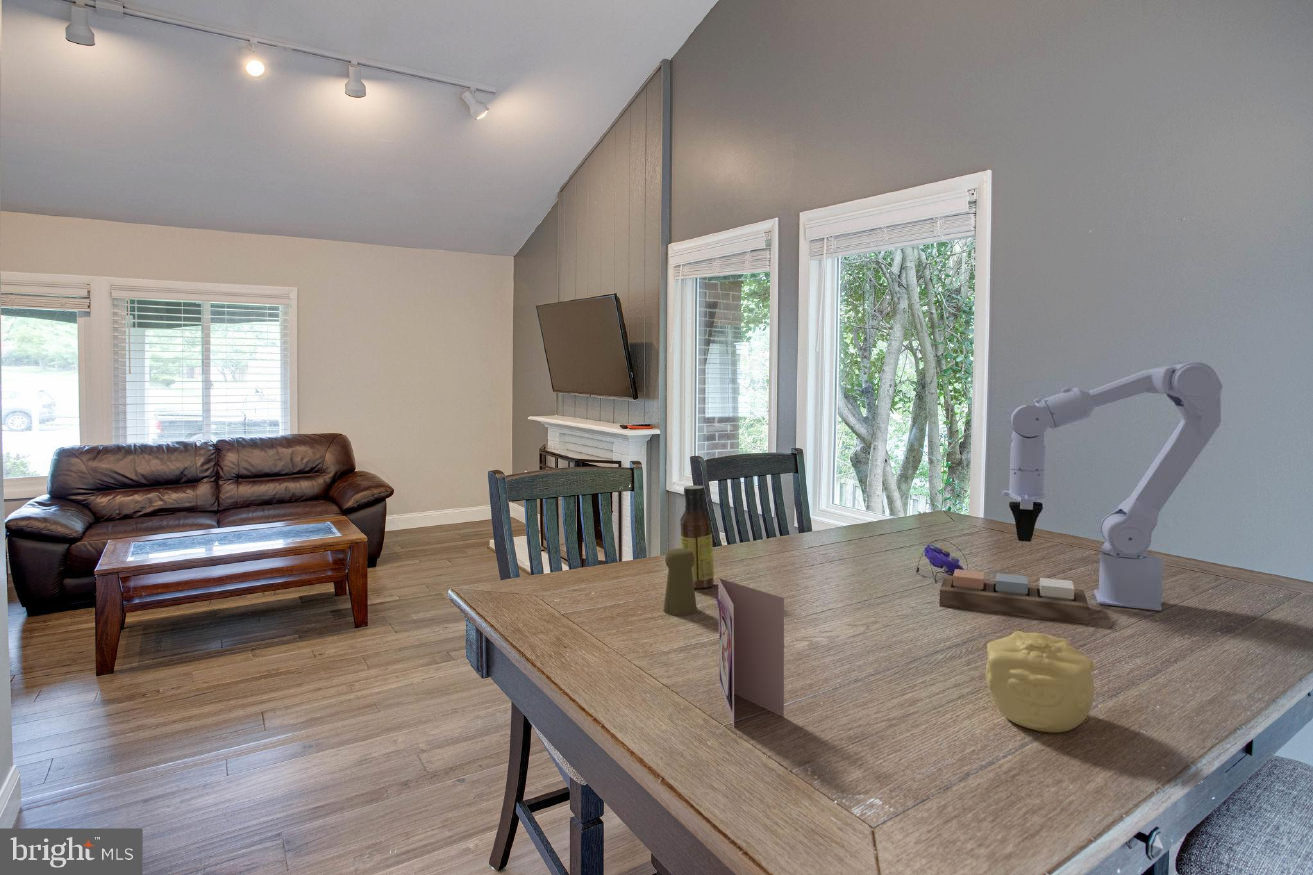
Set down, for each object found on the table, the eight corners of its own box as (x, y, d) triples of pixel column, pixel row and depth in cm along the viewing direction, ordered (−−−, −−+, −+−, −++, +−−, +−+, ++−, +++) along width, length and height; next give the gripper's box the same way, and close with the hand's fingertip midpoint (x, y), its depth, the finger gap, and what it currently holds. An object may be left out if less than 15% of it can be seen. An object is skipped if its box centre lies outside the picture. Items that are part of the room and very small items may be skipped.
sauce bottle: (714, 581, 147) (713, 484, 145) (713, 590, 141) (713, 489, 139) (682, 580, 147) (681, 484, 146) (680, 589, 141) (678, 489, 139)
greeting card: (712, 686, 98) (712, 578, 96) (767, 684, 98) (767, 576, 97) (726, 727, 86) (726, 605, 85) (788, 725, 87) (788, 603, 86)
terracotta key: (983, 590, 133) (984, 572, 133) (982, 597, 129) (983, 579, 128) (954, 586, 135) (955, 569, 135) (952, 594, 131) (953, 575, 131)
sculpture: (977, 727, 86) (979, 639, 85) (994, 690, 96) (996, 610, 95) (1089, 754, 80) (1093, 659, 79) (1095, 711, 89) (1099, 626, 88)
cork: (694, 616, 126) (694, 554, 125) (660, 614, 127) (659, 553, 126) (699, 605, 132) (699, 546, 131) (666, 603, 133) (666, 544, 132)
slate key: (1026, 594, 130) (1027, 576, 130) (1027, 602, 126) (1027, 583, 125) (995, 591, 132) (996, 573, 132) (995, 599, 128) (995, 580, 128)
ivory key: (1071, 599, 127) (1072, 580, 127) (1073, 608, 123) (1074, 588, 122) (1039, 596, 129) (1039, 577, 129) (1040, 604, 125) (1040, 585, 125)
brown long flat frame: (1082, 606, 129) (1083, 589, 128) (1088, 624, 120) (1088, 606, 119) (944, 590, 139) (944, 575, 138) (939, 605, 130) (939, 589, 129)
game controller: (984, 561, 146) (948, 557, 141) (967, 596, 148) (931, 593, 144) (950, 537, 154) (915, 532, 150) (934, 570, 156) (900, 566, 152)
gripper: (1003, 463, 143) (1001, 531, 145) (1002, 473, 130) (1000, 547, 132) (1043, 465, 140) (1041, 534, 141) (1047, 475, 127) (1044, 550, 128)
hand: (1024, 540), depth 136 cm, fingers closed
